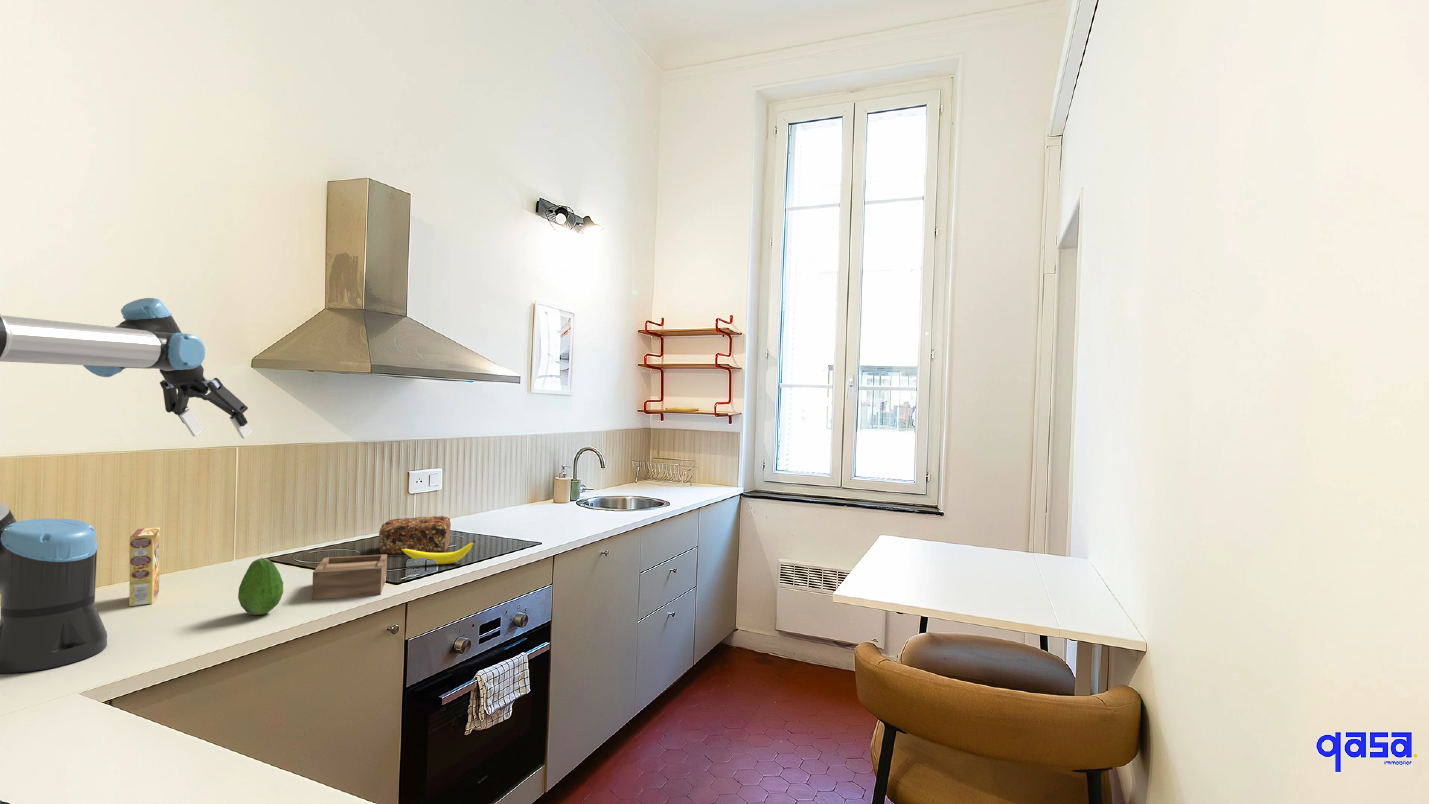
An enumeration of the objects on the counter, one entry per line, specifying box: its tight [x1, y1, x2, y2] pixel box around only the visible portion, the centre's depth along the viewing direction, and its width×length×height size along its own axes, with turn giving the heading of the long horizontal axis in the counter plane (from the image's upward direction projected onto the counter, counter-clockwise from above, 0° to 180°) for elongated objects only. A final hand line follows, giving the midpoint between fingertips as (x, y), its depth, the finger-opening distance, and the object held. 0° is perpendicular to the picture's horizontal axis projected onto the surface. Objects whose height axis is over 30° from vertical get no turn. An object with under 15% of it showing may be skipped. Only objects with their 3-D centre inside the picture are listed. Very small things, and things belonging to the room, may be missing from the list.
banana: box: [402, 540, 476, 565], centre depth 182 cm, size 3×19×6 cm, turn 111°
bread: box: [378, 515, 451, 555], centre depth 198 cm, size 19×11×10 cm, turn 104°
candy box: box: [128, 527, 161, 607], centre depth 146 cm, size 9×4×15 cm, turn 33°
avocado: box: [237, 557, 284, 616], centre depth 139 cm, size 8×8×12 cm
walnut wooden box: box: [311, 554, 388, 600], centre depth 159 cm, size 14×14×6 cm
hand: (222, 434), depth 164 cm, fingers open, 13 cm apart
